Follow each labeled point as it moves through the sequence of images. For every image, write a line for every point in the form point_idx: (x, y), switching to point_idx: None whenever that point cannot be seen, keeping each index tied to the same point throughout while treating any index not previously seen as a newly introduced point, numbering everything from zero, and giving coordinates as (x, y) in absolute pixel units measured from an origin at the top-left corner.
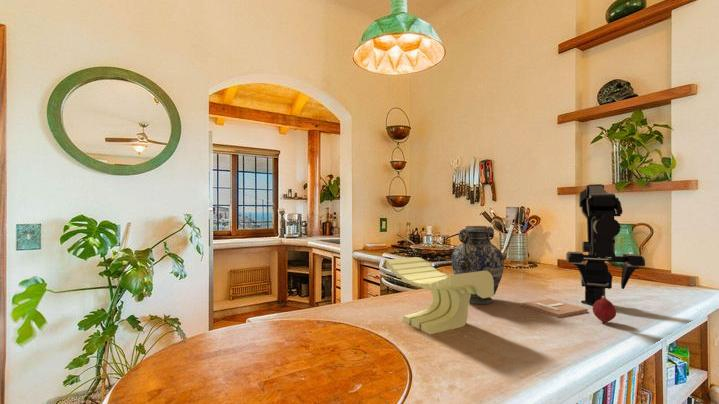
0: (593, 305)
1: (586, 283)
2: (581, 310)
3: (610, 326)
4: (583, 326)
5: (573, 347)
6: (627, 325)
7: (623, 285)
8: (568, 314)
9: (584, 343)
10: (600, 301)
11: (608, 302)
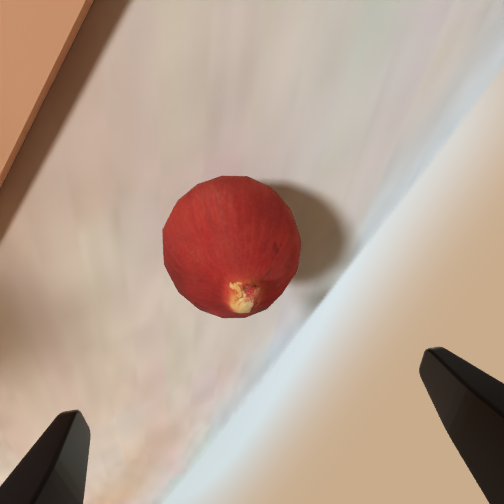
0: (167, 268)
1: (81, 478)
2: (74, 25)
3: None
4: (129, 316)
5: (124, 482)
6: (326, 199)
7: (445, 417)
8: (10, 163)
9: (148, 451)
10: (214, 310)
11: (264, 309)
